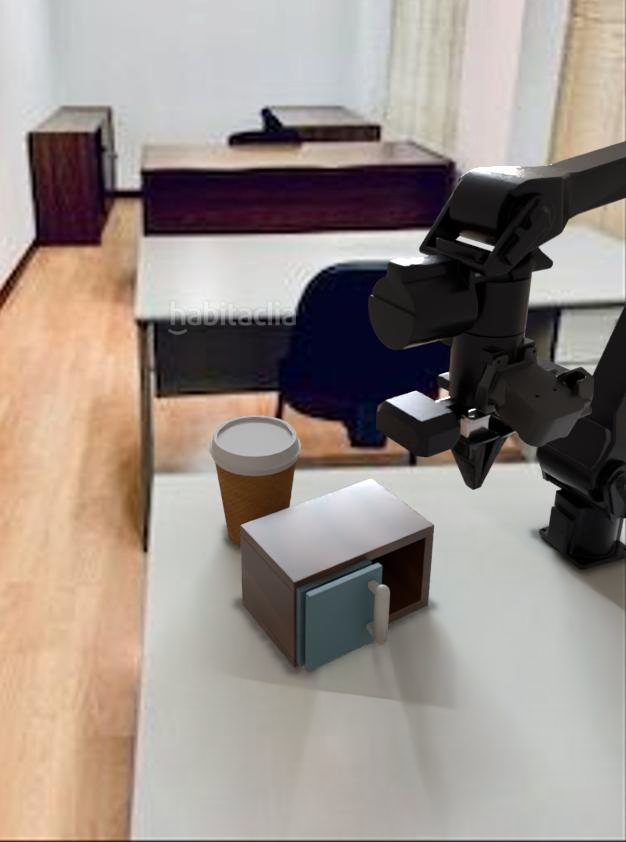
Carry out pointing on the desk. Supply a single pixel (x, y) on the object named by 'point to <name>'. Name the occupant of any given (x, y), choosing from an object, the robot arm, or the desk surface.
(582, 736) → the desk surface
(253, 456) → the disposable coffee cup
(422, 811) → the desk surface
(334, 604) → the sliding door
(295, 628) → the cabinet
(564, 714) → the desk surface
